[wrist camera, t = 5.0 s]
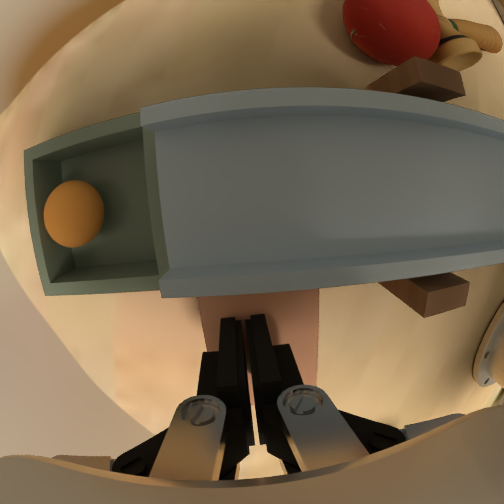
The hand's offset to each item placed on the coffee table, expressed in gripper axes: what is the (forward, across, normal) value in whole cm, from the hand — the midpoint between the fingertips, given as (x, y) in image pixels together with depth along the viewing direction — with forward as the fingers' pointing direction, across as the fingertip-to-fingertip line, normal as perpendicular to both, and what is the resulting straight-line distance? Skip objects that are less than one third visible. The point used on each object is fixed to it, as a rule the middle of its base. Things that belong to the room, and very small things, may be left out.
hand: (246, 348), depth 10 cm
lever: (0, -8, -3) cm, 8 cm away
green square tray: (+6, +7, -6) cm, 11 cm away
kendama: (+6, -16, -18) cm, 25 cm away
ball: (+4, +8, -6) cm, 11 cm away
